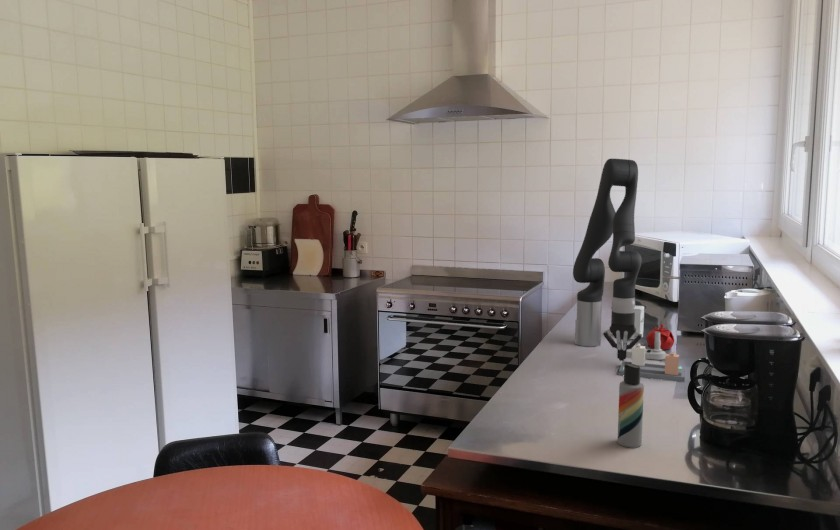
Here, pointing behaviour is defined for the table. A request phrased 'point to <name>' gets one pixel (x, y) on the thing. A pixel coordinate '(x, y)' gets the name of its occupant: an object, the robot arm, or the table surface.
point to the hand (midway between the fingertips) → (621, 360)
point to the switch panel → (656, 372)
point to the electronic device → (652, 354)
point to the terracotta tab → (671, 364)
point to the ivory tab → (638, 355)
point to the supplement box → (639, 320)
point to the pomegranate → (661, 338)
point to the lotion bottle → (630, 408)
